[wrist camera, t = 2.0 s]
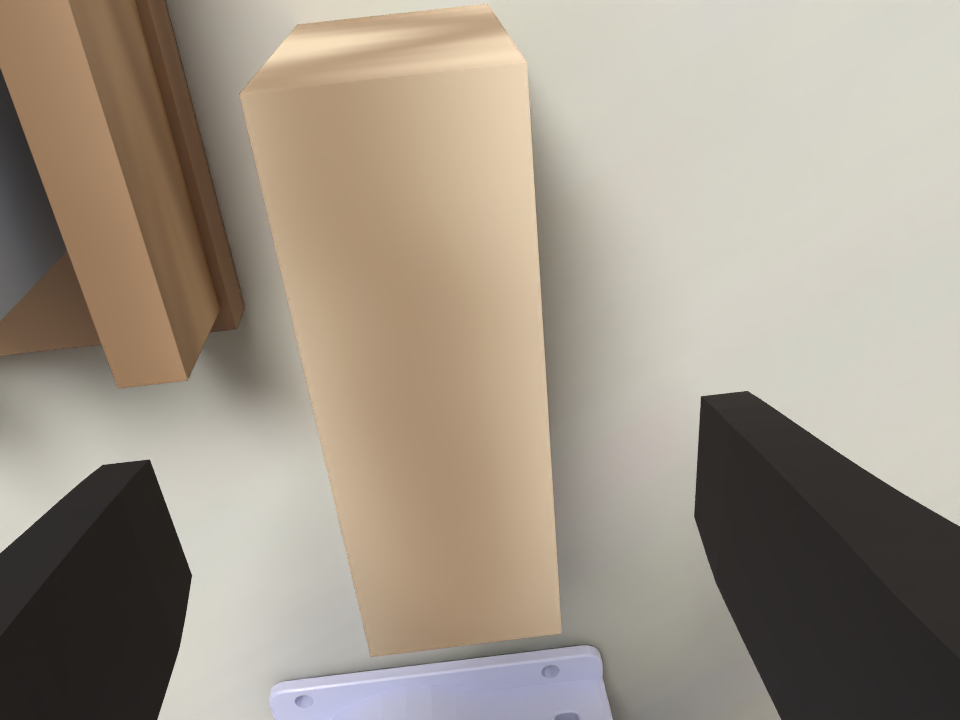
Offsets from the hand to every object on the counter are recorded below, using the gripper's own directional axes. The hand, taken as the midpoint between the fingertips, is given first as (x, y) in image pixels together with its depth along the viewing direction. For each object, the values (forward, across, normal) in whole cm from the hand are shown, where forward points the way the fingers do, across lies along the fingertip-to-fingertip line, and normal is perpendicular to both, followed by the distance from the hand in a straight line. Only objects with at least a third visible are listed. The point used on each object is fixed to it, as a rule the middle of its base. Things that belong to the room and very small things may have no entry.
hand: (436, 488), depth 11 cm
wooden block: (+8, 0, 0) cm, 8 cm away
